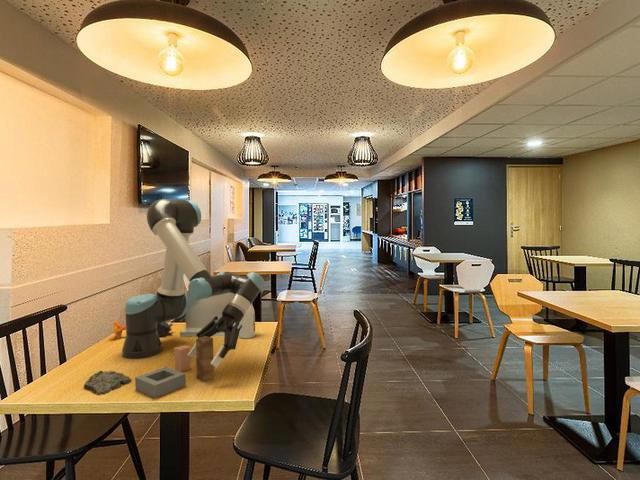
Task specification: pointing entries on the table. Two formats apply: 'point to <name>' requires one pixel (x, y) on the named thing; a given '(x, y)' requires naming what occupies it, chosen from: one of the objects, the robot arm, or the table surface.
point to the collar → (160, 382)
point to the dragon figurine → (161, 328)
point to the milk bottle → (248, 324)
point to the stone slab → (106, 381)
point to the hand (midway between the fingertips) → (201, 361)
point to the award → (204, 313)
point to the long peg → (204, 358)
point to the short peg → (182, 358)
